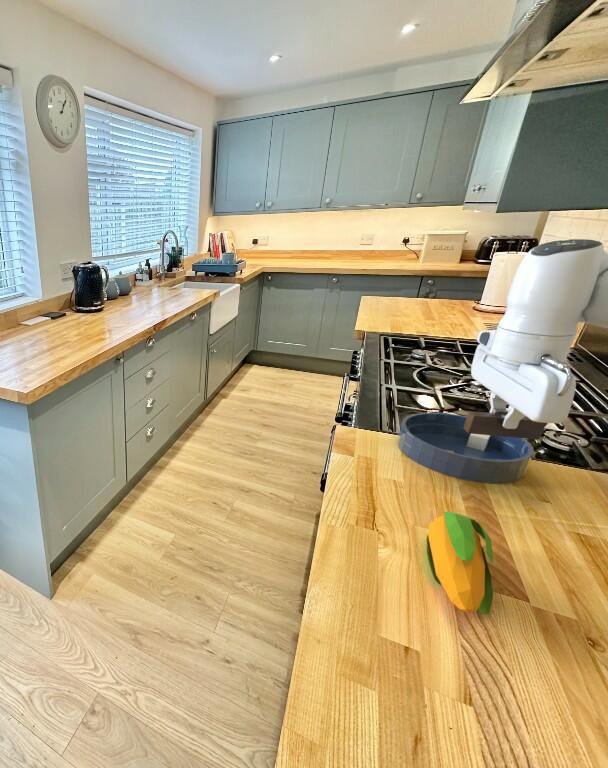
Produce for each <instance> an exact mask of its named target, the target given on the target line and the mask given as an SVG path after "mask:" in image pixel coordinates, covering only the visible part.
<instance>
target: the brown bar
mask: <svg viewBox="0 0 608 768" xmlns="http://www.w3.org/2000/svg"><path fill="white" fill-rule="evenodd" d="M502 415H505V416H506V415H507V414H499V413H490V412H486V411H485V412H484V411H471V410H468V411H467V415H466V417H467V418H466V421H465V424H464V427H463V429H465V430H466V431H467V432H468V433H471V434H482V435H493V436H504V437H515V438H524V439H525V440H537V441H539V440H541V437H542V434H543V431H544V430H545V427H546V424H547V423H543V422H535V421H532V420H531V419H529V418H528V417H527V416H525V417H524V418H523V419H521V420H520V421H519V424H518V426H517V428H516V429H507V428H504V427H503V426H502V425H501V424H500V421H501V417H502Z"/></svg>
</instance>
